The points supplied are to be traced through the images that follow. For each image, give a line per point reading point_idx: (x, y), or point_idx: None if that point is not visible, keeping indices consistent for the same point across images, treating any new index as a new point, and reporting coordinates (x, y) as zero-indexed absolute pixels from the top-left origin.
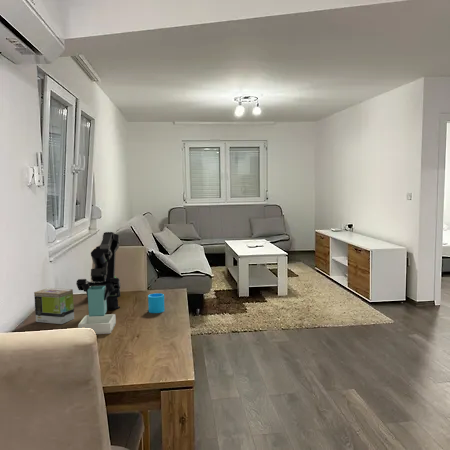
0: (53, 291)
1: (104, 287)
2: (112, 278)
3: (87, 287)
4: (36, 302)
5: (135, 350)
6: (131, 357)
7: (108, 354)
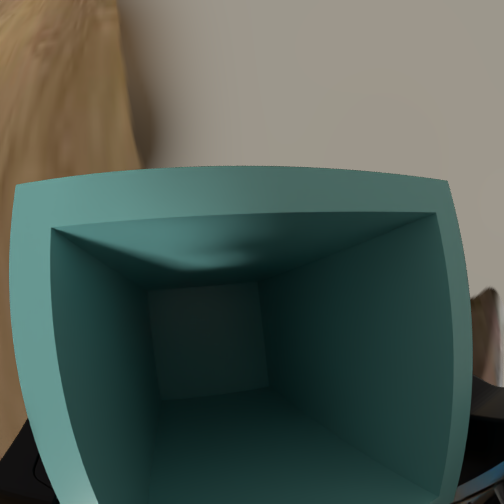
0: None
1: (48, 469)
2: None
3: (493, 408)
4: None
5: (21, 67)
6: (43, 31)
7: (103, 36)
